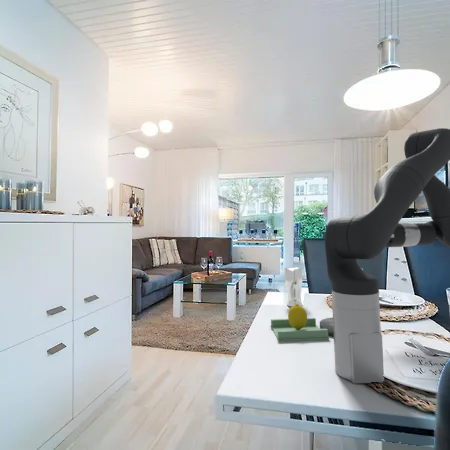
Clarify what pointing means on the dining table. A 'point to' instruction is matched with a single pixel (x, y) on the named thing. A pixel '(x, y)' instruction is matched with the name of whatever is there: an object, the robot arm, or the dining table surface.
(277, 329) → the side chute
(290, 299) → the beer glass
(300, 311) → the lemon
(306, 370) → the dining table surface
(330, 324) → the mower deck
